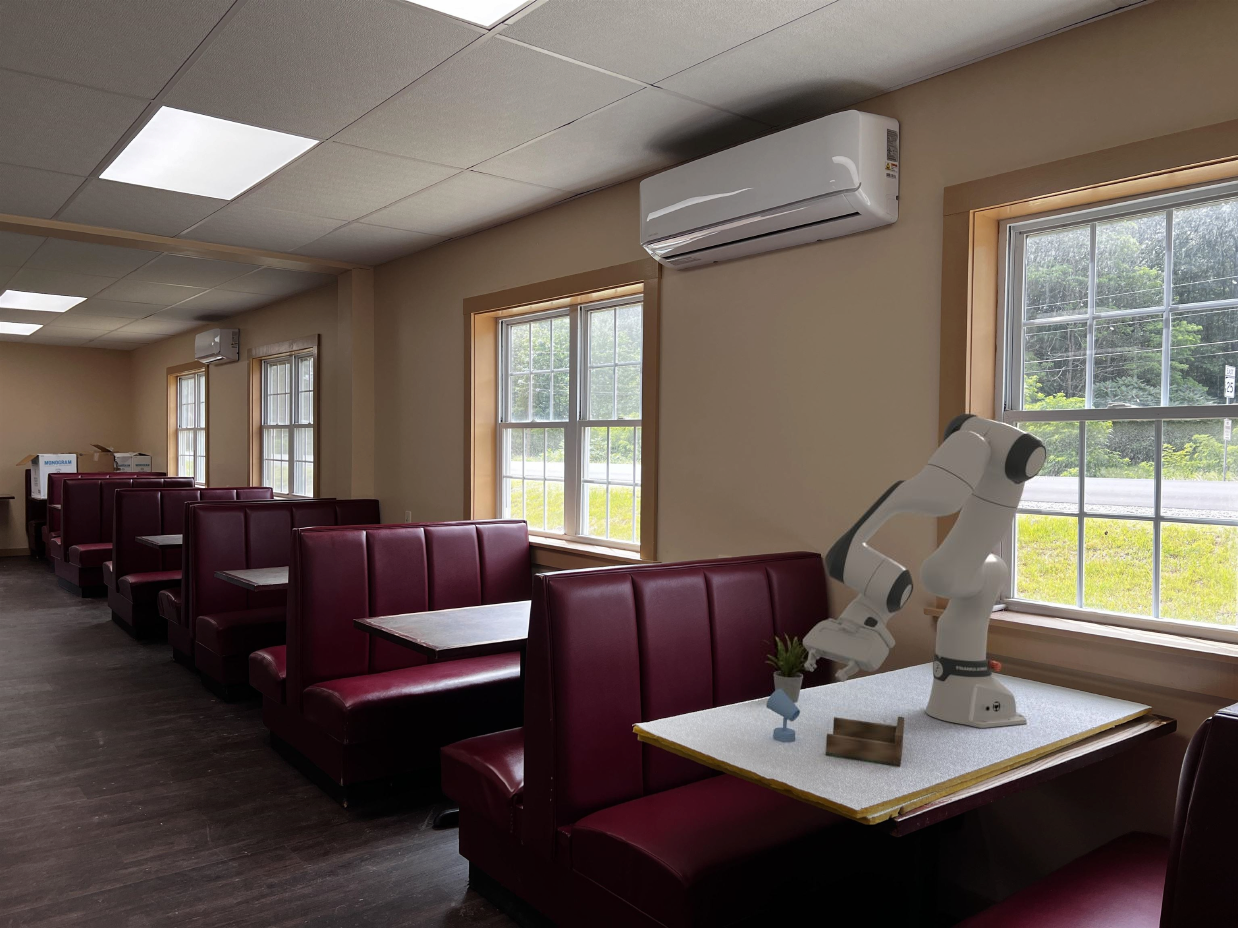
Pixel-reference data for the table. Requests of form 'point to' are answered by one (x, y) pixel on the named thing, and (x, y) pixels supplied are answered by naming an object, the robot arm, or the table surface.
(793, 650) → the house plant
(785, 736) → the spotlight
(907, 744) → the table surface
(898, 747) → the wooden display tray
